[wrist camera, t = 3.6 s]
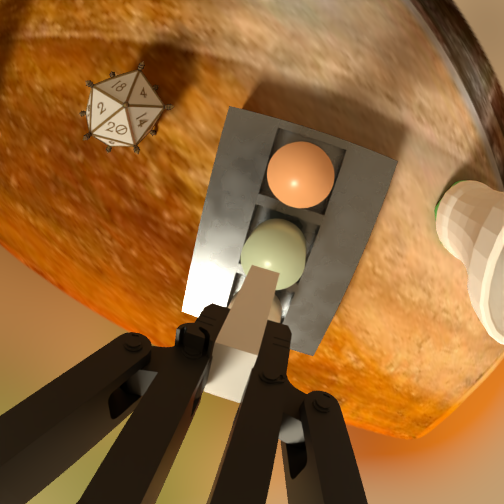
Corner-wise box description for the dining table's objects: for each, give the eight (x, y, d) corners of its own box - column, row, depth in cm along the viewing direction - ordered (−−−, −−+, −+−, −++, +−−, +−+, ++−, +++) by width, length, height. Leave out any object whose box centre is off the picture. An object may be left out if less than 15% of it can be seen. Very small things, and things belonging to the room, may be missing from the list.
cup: (486, 274, 27) (551, 349, 14) (403, 258, 28) (454, 344, 15) (512, 176, 22) (602, 211, 9) (427, 147, 24) (513, 162, 11)
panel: (195, 292, 34) (182, 311, 31) (240, 110, 26) (229, 106, 23) (314, 333, 33) (313, 356, 30) (386, 157, 25) (397, 161, 22)
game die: (175, 104, 31) (202, 95, 22) (129, 166, 31) (138, 179, 23) (114, 60, 26) (119, 33, 17) (66, 124, 26) (50, 121, 18)
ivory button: (225, 320, 30) (216, 339, 27) (238, 278, 28) (228, 296, 25) (273, 336, 29) (268, 357, 26) (289, 296, 27) (285, 315, 24)
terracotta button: (265, 189, 25) (259, 196, 22) (282, 133, 23) (277, 133, 20) (321, 207, 25) (321, 217, 22) (339, 152, 23) (343, 154, 20)
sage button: (242, 262, 27) (233, 278, 24) (258, 210, 25) (250, 221, 22) (295, 279, 27) (292, 298, 24) (314, 229, 25) (314, 242, 22)
